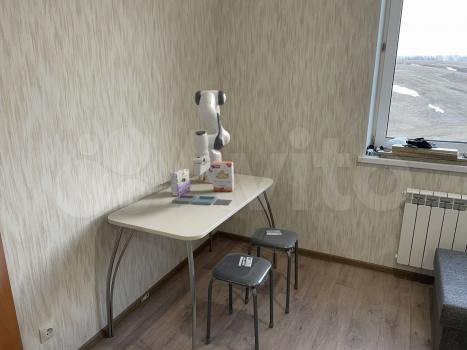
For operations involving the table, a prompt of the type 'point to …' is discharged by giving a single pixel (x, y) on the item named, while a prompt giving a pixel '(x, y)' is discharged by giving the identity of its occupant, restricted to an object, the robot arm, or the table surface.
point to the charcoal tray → (184, 199)
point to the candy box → (180, 182)
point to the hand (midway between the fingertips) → (203, 178)
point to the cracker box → (223, 176)
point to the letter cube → (203, 179)
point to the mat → (222, 202)
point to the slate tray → (204, 200)
